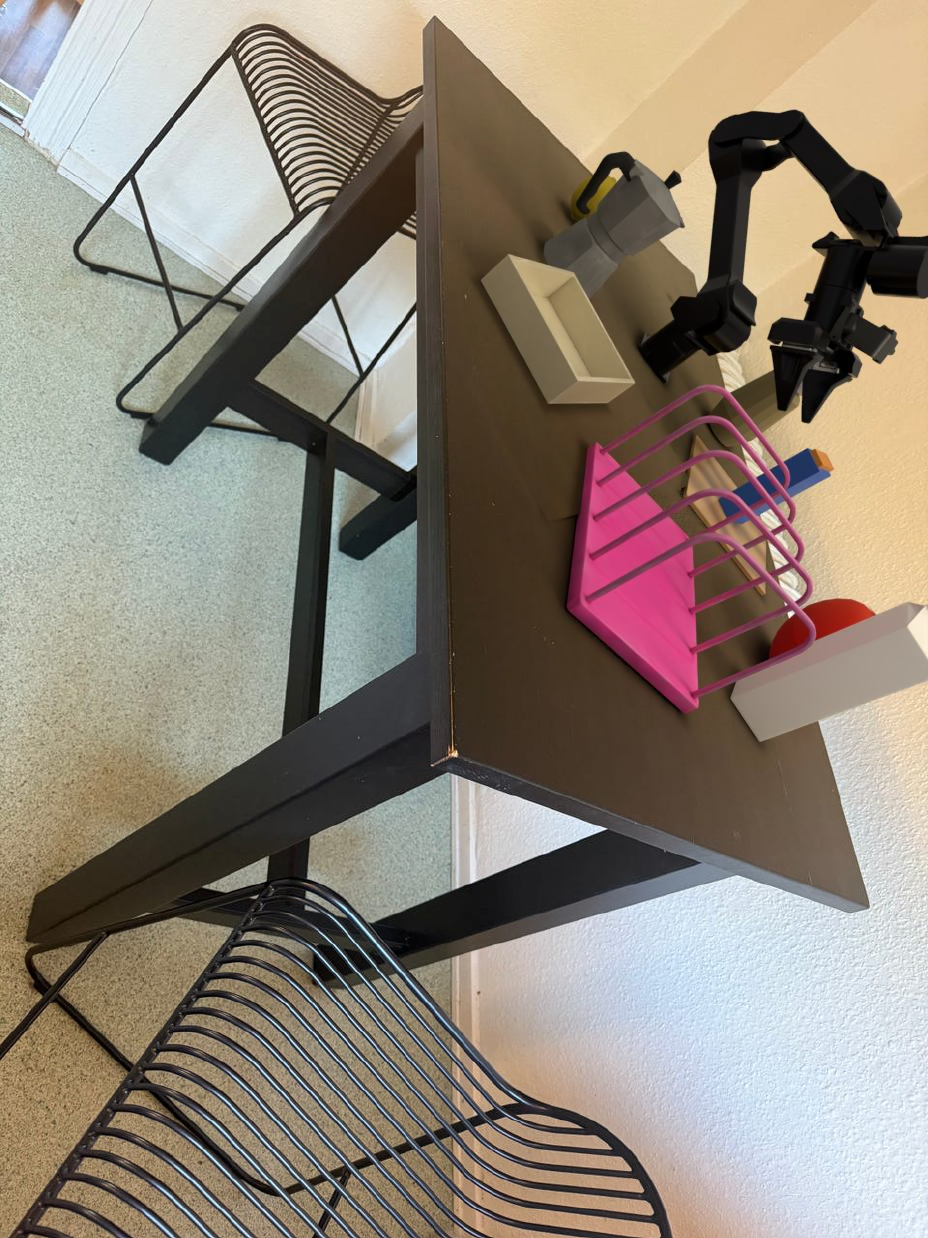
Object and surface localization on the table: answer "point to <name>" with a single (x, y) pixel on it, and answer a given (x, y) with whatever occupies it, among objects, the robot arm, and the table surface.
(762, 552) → the square wooden board
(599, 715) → the table surface
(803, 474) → the orange-tipped blue bar
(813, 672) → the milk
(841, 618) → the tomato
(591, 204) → the lemon
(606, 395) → the basin
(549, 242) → the coffeepot
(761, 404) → the squeeze bottle
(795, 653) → the file sorter
